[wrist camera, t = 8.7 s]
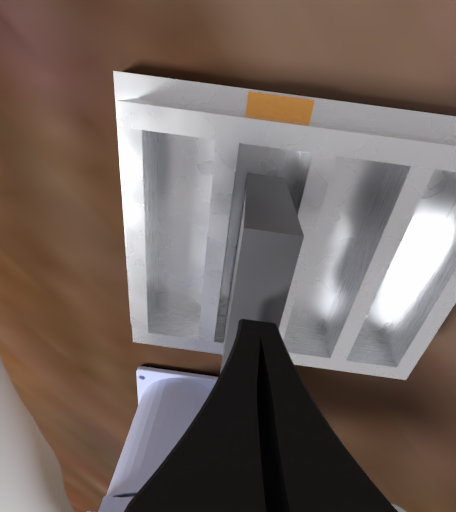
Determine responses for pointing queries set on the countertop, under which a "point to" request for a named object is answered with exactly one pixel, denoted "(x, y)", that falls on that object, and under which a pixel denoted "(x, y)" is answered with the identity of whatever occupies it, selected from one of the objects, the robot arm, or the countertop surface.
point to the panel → (263, 255)
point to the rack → (308, 211)
